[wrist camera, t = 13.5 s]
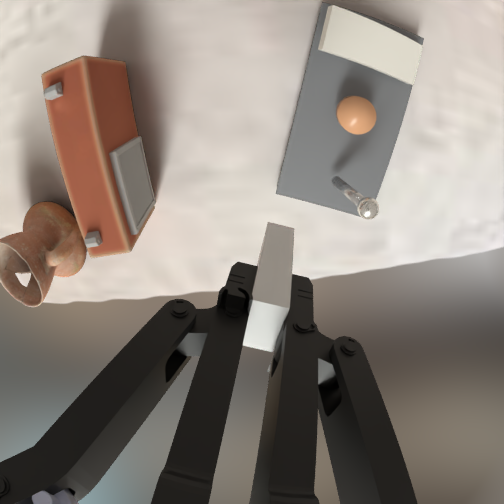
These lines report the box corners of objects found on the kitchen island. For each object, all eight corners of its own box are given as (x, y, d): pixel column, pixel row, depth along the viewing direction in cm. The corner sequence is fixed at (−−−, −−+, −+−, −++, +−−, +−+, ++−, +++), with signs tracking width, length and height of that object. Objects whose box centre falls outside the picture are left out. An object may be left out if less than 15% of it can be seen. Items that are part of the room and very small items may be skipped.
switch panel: (320, 7, 26) (323, -2, 23) (416, 40, 26) (429, 37, 22) (277, 186, 39) (274, 198, 36) (364, 210, 39) (370, 225, 35)
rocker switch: (328, 6, 22) (332, 4, 21) (416, 45, 24) (423, 45, 23) (318, 49, 24) (322, 49, 23) (407, 83, 27) (413, 85, 26)
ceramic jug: (51, 268, 54) (11, 311, 42) (23, 204, 47) (-27, 242, 35) (115, 262, 50) (71, 316, 38) (84, 184, 43) (25, 226, 31)
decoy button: (340, 90, 28) (343, 91, 26) (376, 102, 28) (380, 104, 26) (331, 125, 30) (333, 127, 29) (366, 136, 30) (370, 139, 29)
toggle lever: (328, 169, 33) (369, 202, 26) (344, 171, 33) (386, 204, 27) (323, 186, 34) (361, 223, 28) (339, 189, 35) (378, 224, 28)
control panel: (89, 74, 33) (28, 77, 20) (135, 59, 33) (86, 50, 20) (120, 211, 44) (81, 265, 31) (163, 204, 43) (135, 258, 31)
